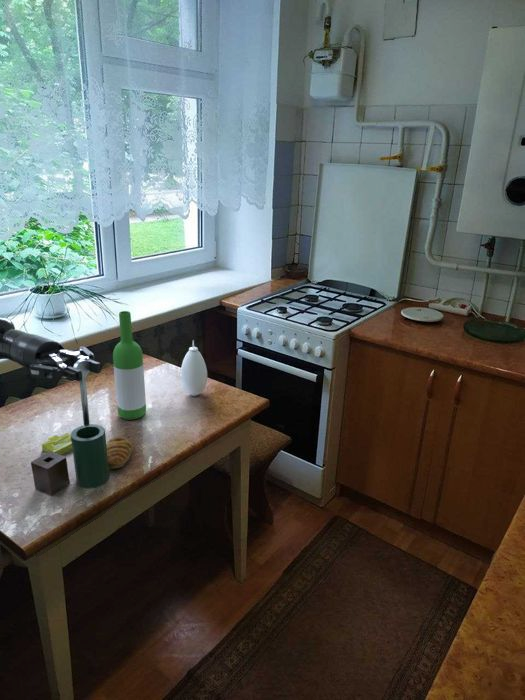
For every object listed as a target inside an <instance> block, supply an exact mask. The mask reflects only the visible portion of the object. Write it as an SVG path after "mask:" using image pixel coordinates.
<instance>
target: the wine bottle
mask: <svg viewBox="0 0 525 700" xmlns="http://www.w3.org/2000/svg"><path fill="white" fill-rule="evenodd" d="M118 318H119V319H118V321H119V333H120V334H119V335H120V341H119V342H118V343H117V344H116V345H115V347H114V349H113V352H112V362H113V372H114V375H113V376H114V384H115V385H114V387H115V396H116V408H117V414H118V416H119V417H120V418H121V419H124V420H129V421H132V420H133V421H134V420H137V419H141V418H142V417H144V415H146V412H147V411H146V410H147V399H146V386H145V385H146V384H145V383H146V382H145V370H144V369H145V368H144V355H143V350H142V348H141V346H140V345H139V344H138V343H137V342H136V341H134V339H133V328H132V314H131V312H130V311H128V310H122V311H120V312H119V313H118Z"/></svg>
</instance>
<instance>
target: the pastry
mask: <svg viewBox="0 0 525 700" xmlns="http://www.w3.org/2000/svg"><path fill="white" fill-rule="evenodd" d="M106 446H107V456H108V466H109V470H112V469H119V468H123V467H124V466H125V464H126V463H127V462H128V461H129V460H130V457H131V455H132V449H133V444H131V442H130V441H129V440H128V439H127V438H125V437H123V436H116V437H114V438H111V439H109V440H108V441H106Z"/></svg>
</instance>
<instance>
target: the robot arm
mask: <svg viewBox="0 0 525 700" xmlns="http://www.w3.org/2000/svg"><path fill="white" fill-rule="evenodd" d="M0 360H9V361H10V362H11V361H12V362H14V363H17V364H18V365H19V366H21V367H24V368H26V369H28V370H29V371H30V375H31V378H33V379H40V380H41V379H42V380H47V381H58V380H59V378H61V379H70V380H72V381H77V382H80V381H81V380H82V379H83V378H82V372H81V370H78V369H75V368H73V366H74V364H75V363H76V362H77V361H78V360H86V361H88V362H89V364H90V372H92V373H94V374H100V373H101V371H102V368H101V363H100V362H98V361H95V354H94V353H93V352H92V351H90V350H89V349H88V348H87V347H86V346H79V350H75V351H74V350H71V349H65V348H64V346H63V345H62V344H60V342H58V341H56V340H53V339H50V338H47V337H44V336H40V335H39V334H33V333H29V332H26V331H23V330H19V329H16V327H15V323H14V322H13V321H12V320H10V319H9V318H8V317H6V316H2V315H0Z"/></svg>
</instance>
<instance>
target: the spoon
mask: <svg viewBox="0 0 525 700" xmlns="http://www.w3.org/2000/svg"><path fill="white" fill-rule="evenodd" d="M73 368H75V369H78V370H81V372H82V378H83V379H82V380H81V381H79V389H80V400H81V409H82V411H81V412H82V420H83V421H82V422H83V425H84V426H89V424H91V421H90V414H89V402H88V401H89V400H88V392H87V381H86V378H87V376H88V375H89V374H90V372H91V371H90V364H89V362H88V361H86V360H78V361H77V362H76V363H75V364H74V366H73Z"/></svg>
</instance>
